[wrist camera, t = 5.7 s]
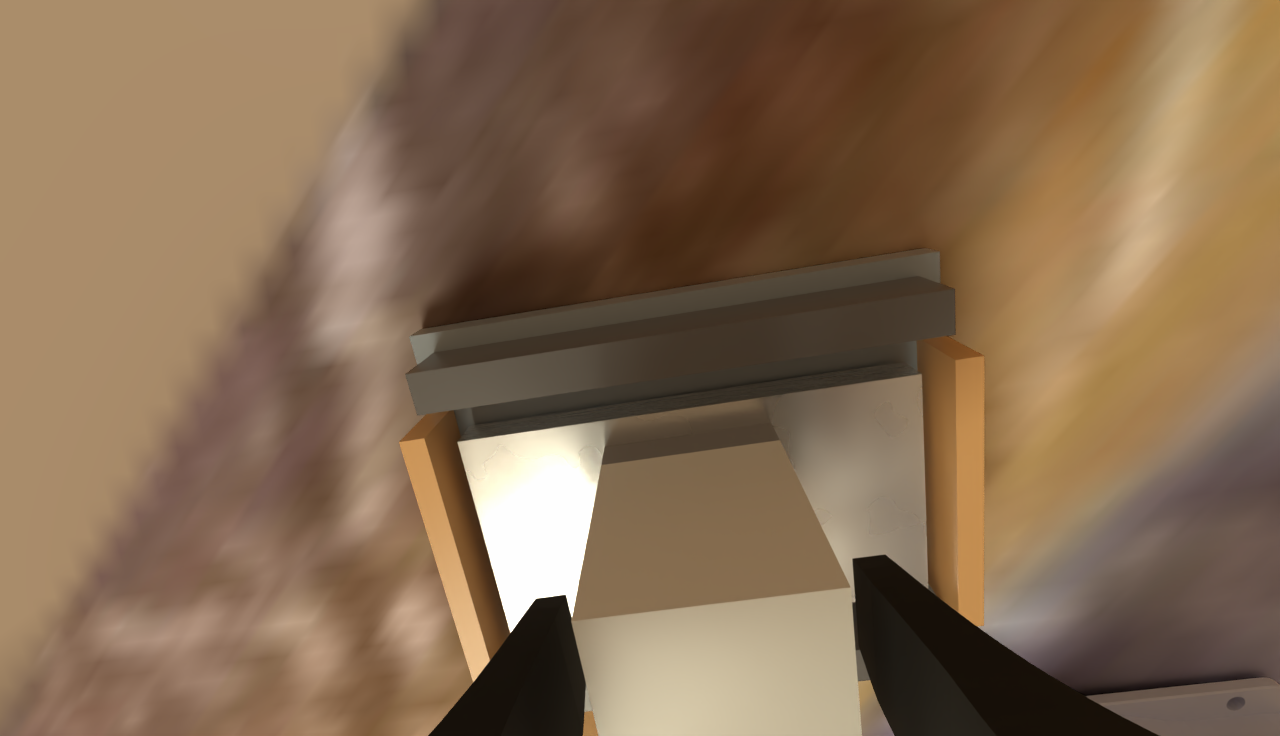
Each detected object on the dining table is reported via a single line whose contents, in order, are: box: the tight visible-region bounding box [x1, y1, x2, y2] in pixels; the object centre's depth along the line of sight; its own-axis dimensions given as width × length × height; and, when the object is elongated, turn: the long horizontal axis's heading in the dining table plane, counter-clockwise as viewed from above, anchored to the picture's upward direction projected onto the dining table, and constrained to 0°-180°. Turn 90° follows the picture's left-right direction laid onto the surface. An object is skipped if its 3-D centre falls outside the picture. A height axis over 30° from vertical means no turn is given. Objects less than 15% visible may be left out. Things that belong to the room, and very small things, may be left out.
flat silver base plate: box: [457, 362, 928, 633], centre depth 15 cm, size 11×6×1 cm, turn 99°
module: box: [571, 423, 862, 736], centre depth 12 cm, size 4×5×6 cm
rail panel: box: [399, 248, 984, 712], centre depth 16 cm, size 13×11×3 cm
